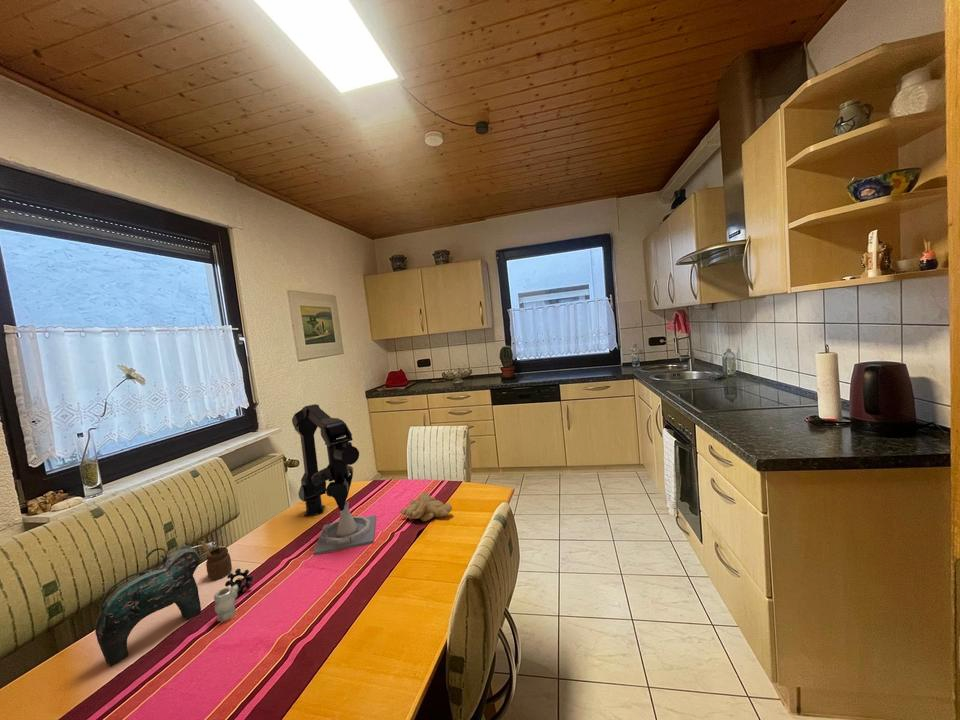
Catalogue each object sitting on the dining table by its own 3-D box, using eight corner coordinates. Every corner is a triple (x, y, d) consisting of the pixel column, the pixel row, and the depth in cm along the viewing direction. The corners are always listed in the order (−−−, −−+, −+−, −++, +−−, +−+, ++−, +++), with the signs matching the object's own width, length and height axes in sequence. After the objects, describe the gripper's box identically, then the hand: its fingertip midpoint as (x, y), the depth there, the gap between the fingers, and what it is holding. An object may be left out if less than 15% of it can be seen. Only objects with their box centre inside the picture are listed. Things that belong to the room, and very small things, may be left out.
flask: (361, 526, 133) (358, 498, 132) (352, 537, 125) (349, 508, 125) (342, 527, 133) (338, 499, 133) (331, 538, 126) (328, 509, 125)
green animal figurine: (200, 602, 101) (188, 530, 100) (212, 609, 98) (200, 534, 96) (98, 662, 84) (82, 576, 83) (109, 673, 81) (92, 584, 79)
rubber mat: (324, 527, 136) (323, 525, 136) (376, 517, 140) (376, 515, 140) (313, 555, 119) (313, 552, 119) (373, 543, 122) (373, 540, 122)
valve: (238, 619, 94) (255, 588, 105) (234, 594, 93) (251, 565, 105) (208, 626, 92) (228, 594, 104) (203, 601, 92) (224, 571, 103)
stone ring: (327, 526, 135) (326, 521, 135) (371, 517, 138) (371, 512, 138) (318, 549, 120) (318, 543, 120) (369, 539, 123) (368, 534, 123)
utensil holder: (236, 569, 115) (231, 531, 114) (215, 583, 109) (208, 542, 108) (224, 566, 117) (218, 528, 116) (202, 579, 112) (196, 539, 111)
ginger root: (396, 510, 141) (399, 489, 141) (437, 508, 148) (439, 488, 148) (407, 530, 127) (410, 506, 127) (451, 527, 134) (454, 504, 134)
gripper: (317, 454, 135) (323, 497, 136) (305, 472, 116) (312, 522, 118) (350, 449, 137) (356, 491, 138) (343, 466, 119) (350, 515, 120)
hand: (343, 504), depth 128 cm, fingers open, 9 cm apart
